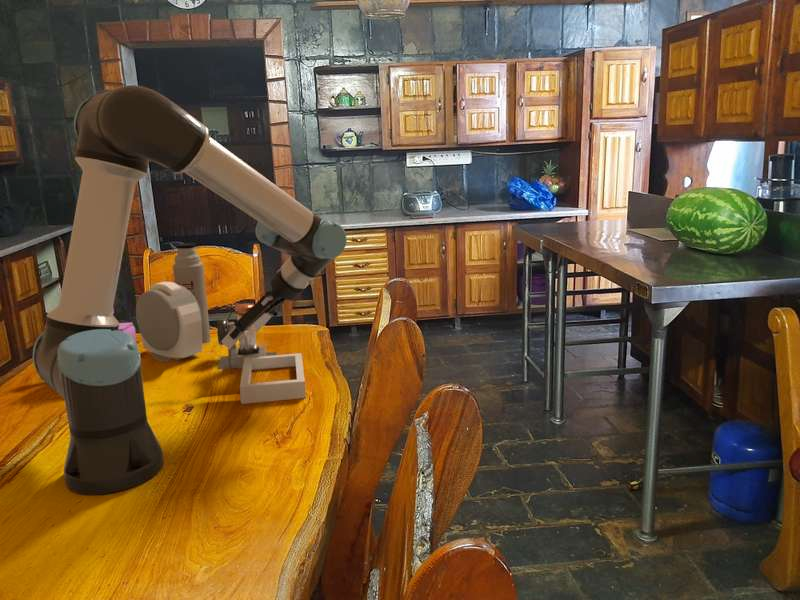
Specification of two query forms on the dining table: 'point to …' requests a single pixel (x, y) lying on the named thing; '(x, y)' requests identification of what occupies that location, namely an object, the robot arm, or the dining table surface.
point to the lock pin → (249, 337)
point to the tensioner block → (235, 348)
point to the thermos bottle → (192, 281)
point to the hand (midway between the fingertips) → (239, 336)
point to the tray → (275, 388)
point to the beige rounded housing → (169, 322)
